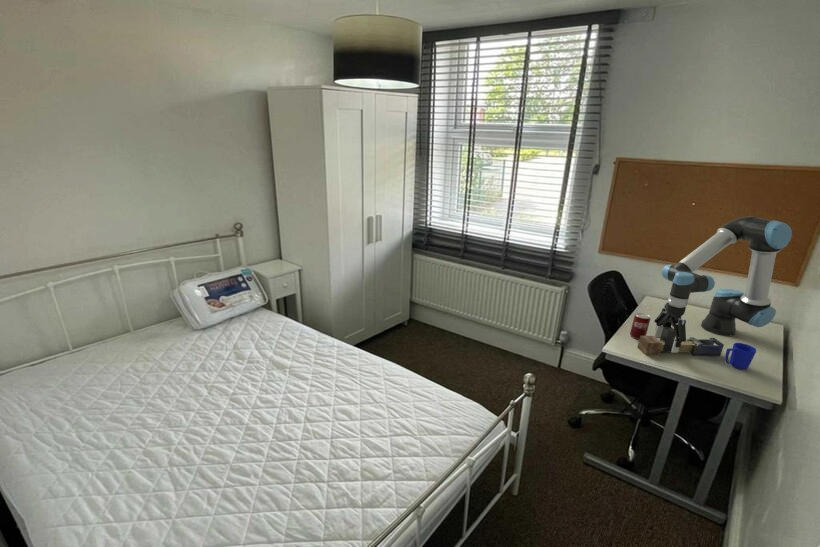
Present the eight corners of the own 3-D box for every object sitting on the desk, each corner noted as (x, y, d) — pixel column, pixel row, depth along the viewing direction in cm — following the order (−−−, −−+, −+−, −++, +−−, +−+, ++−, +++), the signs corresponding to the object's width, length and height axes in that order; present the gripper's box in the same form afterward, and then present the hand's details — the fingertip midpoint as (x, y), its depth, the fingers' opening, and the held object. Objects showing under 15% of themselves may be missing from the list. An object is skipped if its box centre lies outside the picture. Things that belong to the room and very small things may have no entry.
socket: (650, 347, 197) (653, 335, 194) (658, 355, 190) (662, 343, 188) (637, 347, 196) (640, 335, 194) (645, 355, 190) (648, 342, 188)
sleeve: (710, 349, 197) (713, 337, 195) (720, 356, 191) (724, 344, 189) (684, 348, 197) (687, 337, 195) (693, 355, 191) (697, 343, 188)
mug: (714, 361, 186) (721, 342, 183) (738, 361, 187) (745, 342, 184) (729, 371, 178) (736, 352, 175) (754, 371, 179) (761, 351, 176)
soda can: (647, 340, 203) (653, 319, 199) (632, 339, 205) (637, 317, 201) (642, 334, 210) (647, 313, 206) (627, 332, 211) (632, 311, 207)
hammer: (693, 347, 195) (700, 327, 191) (699, 352, 191) (706, 331, 188) (644, 346, 195) (649, 326, 191) (649, 351, 191) (654, 330, 187)
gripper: (652, 294, 197) (643, 332, 204) (686, 316, 173) (674, 358, 180) (667, 294, 197) (657, 332, 204) (703, 316, 173) (690, 358, 180)
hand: (665, 344), depth 192 cm, fingers open, 13 cm apart
